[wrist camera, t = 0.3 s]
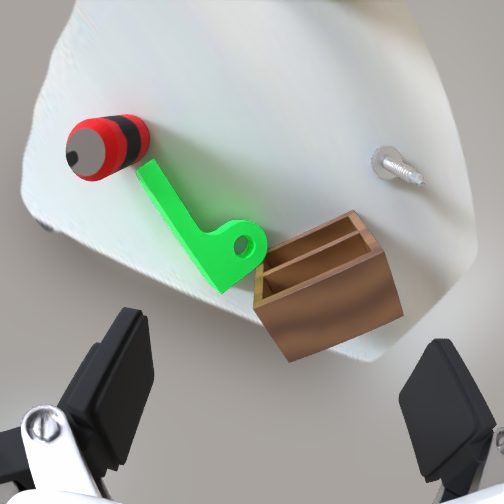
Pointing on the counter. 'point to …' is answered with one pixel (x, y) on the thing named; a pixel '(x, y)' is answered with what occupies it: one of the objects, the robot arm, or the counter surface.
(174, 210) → the bracket
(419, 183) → the screw
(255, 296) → the shelf
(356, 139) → the counter surface
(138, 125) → the soda can
